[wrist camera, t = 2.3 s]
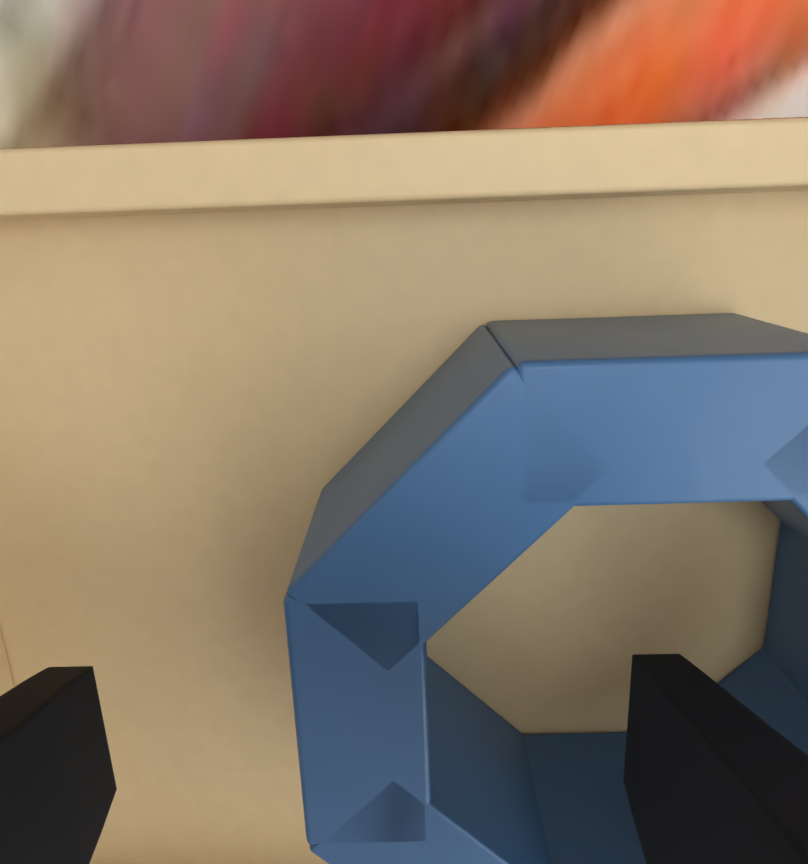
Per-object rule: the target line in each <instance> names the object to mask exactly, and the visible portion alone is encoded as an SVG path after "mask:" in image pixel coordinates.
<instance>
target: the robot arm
mask: <svg viewBox="0 0 808 864" xmlns="http://www.w3.org/2000/svg"><path fill="white" fill-rule="evenodd" d="M623 781H624V785H625V789H626V793H627V796H628V800H629V804H630V808H631V811H632V815H633V819H634V823H635V826H636V830H637V833H638V837H639V840H640V844H641V847H642V850H643V854H644V857H645V861H646V864H808V755H807V754H805V753H804V752H803V751H802V750H800V749H799V748H798V747H796V746H795V745H794V744H793V743H791V742H790V741H789V740H787V739H786V738H785V737H784V736H782V735H781V734H780V733H779V732H777V731H776V730H775V729H773V728H772V727H771V726H770V725H768V724H767V723H766V722H765V721H763V720H762V719H761V718H760V717H758V716H757V715H756V714H755V713H753V712H752V711H751V710H750V709H748V708H747V707H746V706H745V705H743V704H742V703H741V702H740V701H739V700H737V699H736V698H735V697H734V696H732V695H731V694H730V693H729V692H727V691H726V690H725V689H724V688H722V687H721V686H720V685H719V684H717V683H716V682H715V681H714V680H713V679H711V678H710V677H709V676H708V675H706V674H705V673H704V672H703V671H701V670H700V669H699V668H698V667H696V666H695V665H694V664H692V663H691V662H690V661H688V660H687V659H686V658H684V657H683V656H682V655H680V654H634V655H632V667H631V681H630V694H629V708H628V722H627V736H626V750H625V764H624V778H623ZM116 790H117V787H116V782H115V777H114V772H113V767H112V762H111V757H110V752H109V746H108V741H107V736H106V731H105V726H104V721H103V716H102V711H101V705H100V700H99V695H98V690H97V685H96V680H95V675H94V670H93V666H70V667H47V668H46V669H44V670H42V671H40V672H39V673H37V674H35V675H33V676H32V677H30V678H28V679H27V680H25V681H23V682H22V683H20V684H19V685H17V686H15V687H14V688H12V689H11V690H9V691H7V692H6V693H4V694H3V695H1V696H0V864H89V863H90V861H91V858H92V856H93V853H94V850H95V848H96V845H97V843H98V840H99V838H100V835H101V832H102V830H103V827H104V824H105V821H106V818H107V815H108V813H109V810H110V807H111V804H112V801H113V799H114V796H115V793H116Z"/></svg>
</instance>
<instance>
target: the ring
mask: <svg viewBox="0 0 808 864" xmlns="http://www.w3.org/2000/svg"><path fill="white" fill-rule="evenodd" d="M745 501H762V502H763V503H764V504H765V505H766V506H767V507H768V508H769V509H770V510H771V511H772V512H773V513H774V514H775V515H776V516H777V517H778V518H779V519H780V521H781V523H780V530H779V537H778V545H777V552H776V560H775V567H774V575H773V582H772V589H771V597H770V604H769V612H768V619H767V627H766V634H765V641H764V647H763V648H762V649H760V650H759V651H758V652H756V653H755V654H754V655H753V656H751V657H750V658H749V659H748V660H746V661H745V662H744V663H743V664H741V665H740V666H739V667H737V668H736V669H735V670H734V671H732V672H731V673H730V674H729V675H727V676H726V677H725V678H724V679H722V680H721V681H720V682H718V683H717V684H719V685H720V686H721V687H722V688H724V689H725V690H726V691H727V692H729V693H730V694H731V695H732V696H734V697H735V698H736V699H737V700H739V701H740V702H741V703H742V704H743V705H745V706H746V707H747V708H748V709H750V710H751V711H752V712H753V713H755V714H756V715H757V716H758V717H760V718H761V719H762V720H763V721H765V722H766V723H767V724H768V725H770V726H771V727H772V728H773V729H775V730H776V731H777V732H779V733H780V734H781V735H782V736H784V737H785V738H786V739H787V740H789V741H790V742H791V743H793V744H794V745H795V746H796V747H798V748H799V749H800V750H802V751H803V752H804V753H805V754H807V755H808V333H804V332H801V331H797V330H794V329H790V328H786V327H783V326H779V325H775V324H772V323H768V322H764V321H761V320H757V319H754V318H750V317H746V316H743V315H739V314H735V313H716V314H686V315H656V316H626V317H597V318H567V319H537V320H507V321H490V322H488V323H487V325H486V326H484V325H481V326H479V327H478V328H477V329H476V330H475V331H474V332H473V333H472V334H471V335H470V336H469V337H468V338H467V339H466V340H465V341H464V342H463V343H462V345H461V346H460V347H459V348H458V349H457V350H456V351H455V352H454V353H453V354H452V355H451V356H450V357H449V358H448V359H447V360H446V361H445V362H444V363H443V364H442V365H441V366H440V367H439V368H438V369H437V370H436V371H435V372H434V374H433V375H432V376H431V377H430V378H429V379H428V380H427V381H426V382H425V383H424V384H423V385H422V386H421V387H420V388H419V389H418V390H417V391H416V392H415V393H414V394H413V395H412V396H411V397H410V398H409V399H408V400H407V401H406V403H405V404H404V405H403V406H402V407H401V408H400V409H399V410H398V411H397V412H396V413H395V414H394V415H393V416H392V417H391V418H390V419H389V420H388V421H387V422H386V423H385V424H384V425H383V426H382V427H381V428H380V429H379V431H378V432H377V433H376V434H375V435H374V436H373V437H372V438H371V439H370V440H369V441H368V442H367V443H366V444H365V445H364V446H363V447H362V448H361V449H360V450H359V451H358V452H357V453H356V454H355V455H354V456H353V457H352V458H351V460H350V461H349V462H348V463H347V464H346V465H345V466H344V467H343V468H342V469H341V470H340V471H339V472H338V473H337V474H336V475H335V476H334V477H333V478H332V479H331V480H330V481H329V482H328V483H327V484H326V485H325V486H324V488H323V489H322V490H321V493H320V496H319V499H318V502H317V505H316V508H315V510H314V513H313V516H312V519H311V522H310V525H309V528H308V531H307V534H306V537H305V539H304V542H303V545H302V548H301V551H300V554H299V557H298V560H297V563H296V565H295V568H294V571H293V574H292V577H291V580H290V583H289V586H288V589H287V592H286V594H285V597H284V600H283V604H284V614H285V624H286V635H287V645H288V655H289V666H290V676H291V686H292V696H293V707H294V717H295V727H296V738H297V748H298V758H299V769H300V779H301V789H302V800H303V810H304V820H305V830H306V839H307V842H308V843H309V844H310V850H311V852H313V853H314V854H315V855H317V856H318V857H320V858H321V859H322V860H324V861H325V862H327V863H328V864H646V861H645V857H644V854H643V850H642V847H641V844H640V840H639V837H638V833H637V830H636V826H635V823H634V819H633V815H632V811H631V808H630V804H629V800H628V796H627V793H626V789H625V785H624V781H623V778H624V764H625V750H626V736H627V732H615V733H565V734H522V733H521V732H519V731H518V730H517V729H516V728H515V727H513V726H512V725H511V724H510V723H508V722H507V721H506V720H505V719H504V718H502V717H501V716H500V715H499V714H497V713H496V712H495V711H494V710H493V709H491V708H490V707H489V706H488V705H486V704H485V703H484V702H483V701H482V700H480V699H479V698H478V697H477V696H476V695H474V694H473V693H472V692H471V691H469V690H468V689H467V688H466V687H465V686H463V685H462V684H461V683H460V682H458V681H457V680H456V679H455V678H454V677H452V676H451V675H450V674H449V673H447V672H446V671H445V670H444V669H443V668H441V667H440V666H439V665H438V664H436V663H435V662H434V661H433V660H432V659H430V658H429V657H428V656H427V640H428V639H430V638H431V637H432V636H433V635H434V634H435V633H436V632H437V631H438V630H439V629H440V628H442V627H443V626H444V625H445V624H446V623H447V622H448V621H449V620H450V619H451V618H452V617H454V616H455V615H456V614H457V613H458V612H459V611H460V610H461V609H462V608H463V607H464V606H466V605H467V604H468V603H469V602H470V601H471V600H472V599H473V598H474V597H475V596H476V595H478V594H479V593H480V592H481V591H482V590H483V589H484V588H485V587H486V586H487V585H489V584H490V583H491V582H492V581H493V580H494V579H495V578H496V577H497V576H498V575H499V574H501V573H502V572H503V571H504V570H505V569H506V568H507V567H508V566H509V565H510V564H511V563H513V562H514V561H515V560H516V559H517V558H518V557H519V556H520V555H521V554H522V553H523V552H525V551H526V550H527V549H528V548H529V547H530V546H531V545H532V544H533V543H534V542H536V541H537V540H538V539H539V538H540V537H541V536H542V535H543V534H544V533H545V532H546V531H548V530H549V529H550V528H551V527H552V526H553V525H554V524H555V523H556V522H557V521H558V520H560V519H561V518H562V517H563V516H564V515H565V514H566V513H567V512H568V511H569V510H570V509H572V508H573V507H574V506H599V505H635V504H672V503H708V502H745Z"/></svg>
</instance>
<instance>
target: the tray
mask: <svg viewBox="0 0 808 864" xmlns="http://www.w3.org/2000/svg"><path fill="white" fill-rule="evenodd" d="M716 313H735V314H739V315H743V316H746V317H750V318H754V319H757V320H761V321H764V322H768V323H772V324H775V325H779V326H783V327H786V328H790V329H794V330H797V331H801V332H804V333H808V117H795V118H770V119H744V120H719V121H694V122H669V123H643V124H618V125H593V126H568V127H542V128H517V129H492V130H467V131H441V132H416V133H391V134H366V135H340V136H315V137H290V138H264V139H239V140H214V141H189V142H163V143H138V144H113V145H88V146H62V147H37V148H12V149H0V696H1V695H3V694H4V693H6V692H7V691H9V690H11V689H12V688H14V687H15V686H17V685H19V684H20V683H22V682H23V681H25V680H27V679H28V678H30V677H32V676H33V675H35V674H37V673H39V672H40V671H42V670H44V669H46V668H47V667H70V666H93V670H94V675H95V680H96V685H97V690H98V695H99V700H100V705H101V711H102V716H103V721H104V726H105V731H106V736H107V741H108V746H109V752H110V757H111V762H112V767H113V772H114V777H115V782H116V787H117V790H116V793H115V796H114V799H113V801H112V804H111V807H110V810H109V813H108V815H107V818H106V821H105V824H104V827H103V830H102V832H101V835H100V838H99V840H98V843H97V845H96V848H95V850H94V853H93V856H92V858H91V861H90V863H89V864H328V863H327V862H325V861H324V860H322V859H321V858H320V857H318V856H317V855H315V854H314V853H313V852H311V850H310V844H309V843H308V842H307V839H306V830H305V820H304V810H303V800H302V789H301V779H300V769H299V758H298V748H297V738H296V727H295V717H294V707H293V696H292V686H291V676H290V666H289V655H288V645H287V635H286V624H285V614H284V604H283V600H284V597H285V594H286V592H287V589H288V586H289V583H290V580H291V577H292V574H293V571H294V568H295V565H296V563H297V560H298V557H299V554H300V551H301V548H302V545H303V542H304V539H305V537H306V534H307V531H308V528H309V525H310V522H311V519H312V516H313V513H314V510H315V508H316V505H317V502H318V499H319V496H320V493H321V490H322V489H323V488H324V486H325V485H326V484H327V483H328V482H329V481H330V480H331V479H332V478H333V477H334V476H335V475H336V474H337V473H338V472H339V471H340V470H341V469H342V468H343V467H344V466H345V465H346V464H347V463H348V462H349V461H350V460H351V458H352V457H353V456H354V455H355V454H356V453H357V452H358V451H359V450H360V449H361V448H362V447H363V446H364V445H365V444H366V443H367V442H368V441H369V440H370V439H371V438H372V437H373V436H374V435H375V434H376V433H377V432H378V431H379V429H380V428H381V427H382V426H383V425H384V424H385V423H386V422H387V421H388V420H389V419H390V418H391V417H392V416H393V415H394V414H395V413H396V412H397V411H398V410H399V409H400V408H401V407H402V406H403V405H404V404H405V403H406V401H407V400H408V399H409V398H410V397H411V396H412V395H413V394H414V393H415V392H416V391H417V390H418V389H419V388H420V387H421V386H422V385H423V384H424V383H425V382H426V381H427V380H428V379H429V378H430V377H431V376H432V375H433V374H434V372H435V371H436V370H437V369H438V368H439V367H440V366H441V365H442V364H443V363H444V362H445V361H446V360H447V359H448V358H449V357H450V356H451V355H452V354H453V353H454V352H455V351H456V350H457V349H458V348H459V347H460V346H461V345H462V343H463V342H464V341H465V340H466V339H467V338H468V337H469V336H470V335H471V334H472V333H473V332H474V331H475V330H476V329H477V328H478V327H479V326H481V325H484V326H486V325H487V323H488V322H490V321H507V320H537V319H567V318H597V317H626V316H656V315H686V314H716ZM780 523H781V521H780V519H779V518H778V517H777V516H776V515H775V514H774V513H773V512H772V511H771V510H770V509H769V508H768V507H767V506H766V505H765V504H764V503H763V502H762V501H745V502H708V503H672V504H635V505H599V506H574V507H573V508H572V509H570V510H569V511H568V512H567V513H566V514H565V515H564V516H563V517H562V518H561V519H560V520H558V521H557V522H556V523H555V524H554V525H553V526H552V527H551V528H550V529H549V530H548V531H546V532H545V533H544V534H543V535H542V536H541V537H540V538H539V539H538V540H537V541H536V542H534V543H533V544H532V545H531V546H530V547H529V548H528V549H527V550H526V551H525V552H523V553H522V554H521V555H520V556H519V557H518V558H517V559H516V560H515V561H514V562H513V563H511V564H510V565H509V566H508V567H507V568H506V569H505V570H504V571H503V572H502V573H501V574H499V575H498V576H497V577H496V578H495V579H494V580H493V581H492V582H491V583H490V584H489V585H487V586H486V587H485V588H484V589H483V590H482V591H481V592H480V593H479V594H478V595H476V596H475V597H474V598H473V599H472V600H471V601H470V602H469V603H468V604H467V605H466V606H464V607H463V608H462V609H461V610H460V611H459V612H458V613H457V614H456V615H455V616H454V617H452V618H451V619H450V620H449V621H448V622H447V623H446V624H445V625H444V626H443V627H442V628H440V629H439V630H438V631H437V632H436V633H435V634H434V635H433V636H432V637H431V638H430V639H428V640H427V656H428V657H429V658H430V659H432V660H433V661H434V662H435V663H436V664H438V665H439V666H440V667H441V668H443V669H444V670H445V671H446V672H447V673H449V674H450V675H451V676H452V677H454V678H455V679H456V680H457V681H458V682H460V683H461V684H462V685H463V686H465V687H466V688H467V689H468V690H469V691H471V692H472V693H473V694H474V695H476V696H477V697H478V698H479V699H480V700H482V701H483V702H484V703H485V704H486V705H488V706H489V707H490V708H491V709H493V710H494V711H495V712H496V713H497V714H499V715H500V716H501V717H502V718H504V719H505V720H506V721H507V722H508V723H510V724H511V725H512V726H513V727H515V728H516V729H517V730H518V731H519V732H521V733H522V734H565V733H615V732H627V722H628V708H629V694H630V681H631V667H632V655H634V654H680V655H682V656H683V657H684V658H686V659H687V660H688V661H690V662H691V663H692V664H694V665H695V666H696V667H698V668H699V669H700V670H701V671H703V672H704V673H705V674H706V675H708V676H709V677H710V678H711V679H713V680H714V681H715V682H716V683H718V682H720V681H721V680H722V679H724V678H725V677H726V676H727V675H729V674H730V673H731V672H732V671H734V670H735V669H736V668H737V667H739V666H740V665H741V664H743V663H744V662H745V661H746V660H748V659H749V658H750V657H751V656H753V655H754V654H755V653H756V652H758V651H759V650H760V649H762V648H763V647H764V641H765V634H766V627H767V619H768V612H769V604H770V597H771V589H772V582H773V575H774V567H775V560H776V552H777V545H778V537H779V530H780Z"/></svg>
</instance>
